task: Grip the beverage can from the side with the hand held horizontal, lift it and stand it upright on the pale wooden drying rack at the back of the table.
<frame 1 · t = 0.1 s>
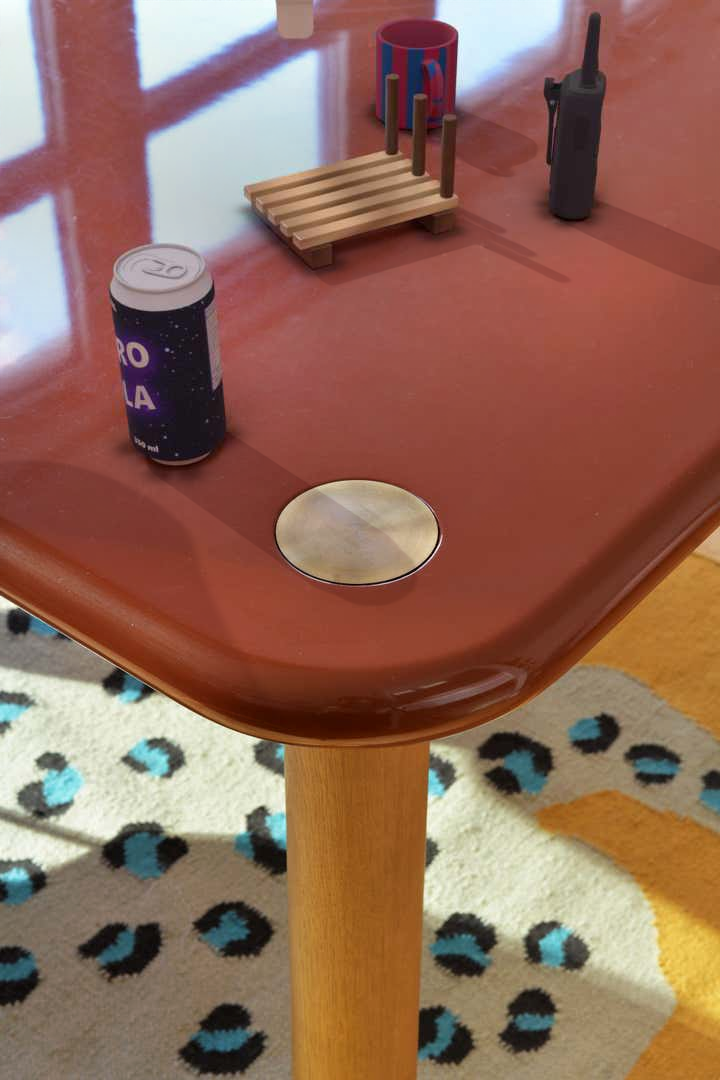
beverage can: (180, 446, 81), on the table
two-way radio: (562, 208, 103), on the table
mug: (417, 124, 114), on the table
drying rack: (350, 219, 101), on the table
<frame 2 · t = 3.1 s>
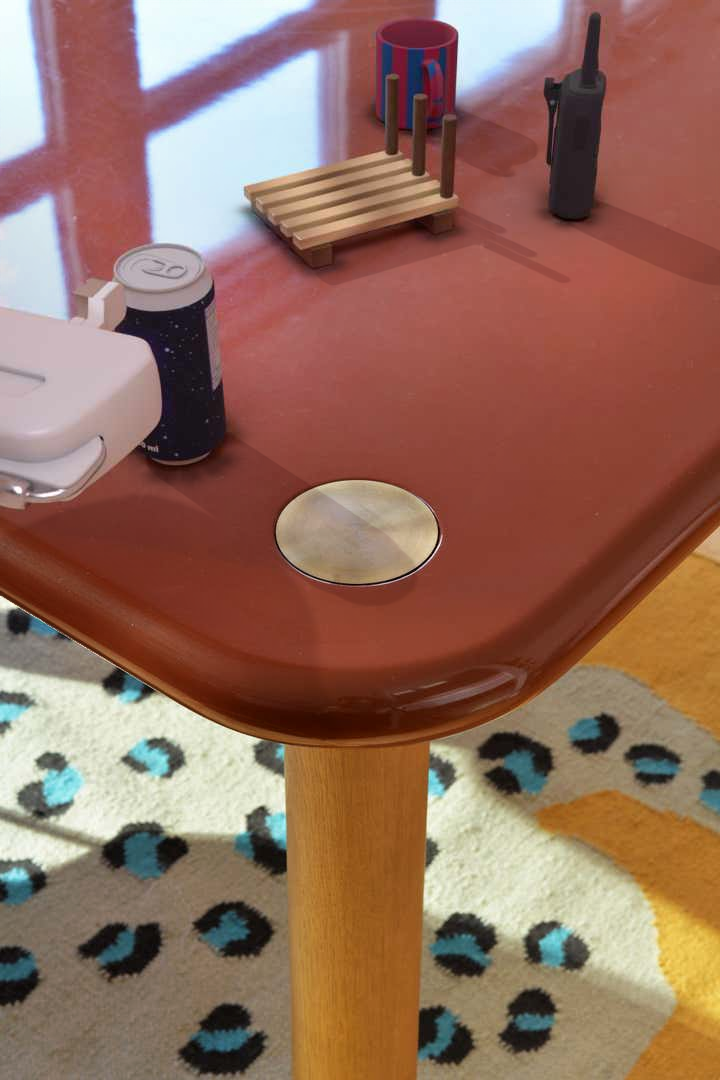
hand: (18, 273, 60), 18 cm above the table, tool horizontal, fingers open, 8 cm apart
nothing on the table moved.
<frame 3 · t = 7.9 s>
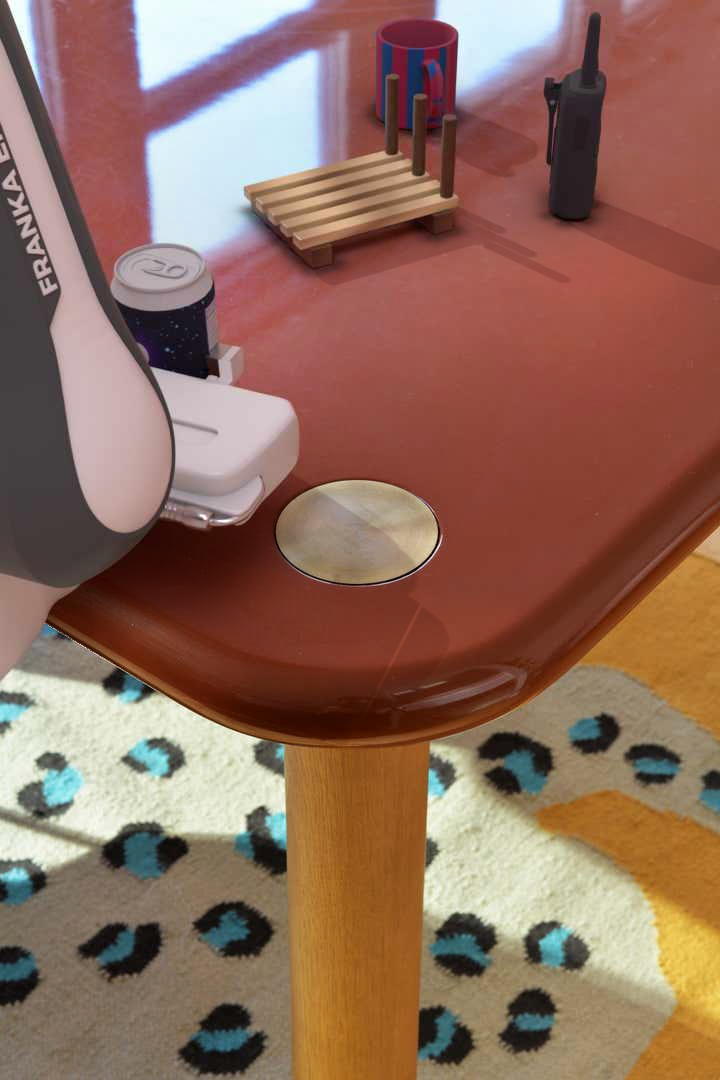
hand: (176, 341, 77), 7 cm above the table, tool horizontal, fingers closed on beverage can, 5 cm apart
beverage can: (180, 446, 81), on the table, touching gripper
everything else where it was.
when the fingers open (9 cm above the table, at t = 16.5 s): beverage can stays where it is, resting on drying rack.
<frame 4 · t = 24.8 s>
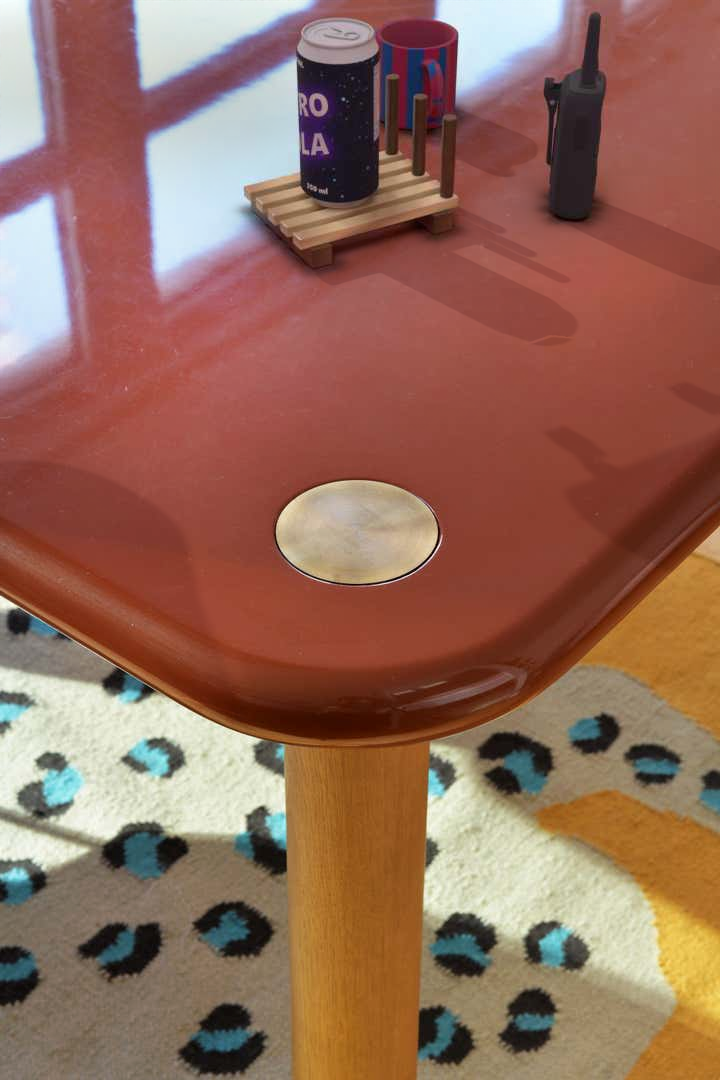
beverage can: (339, 197, 99), point 2 cm above the table, touching drying rack
everything else where it was.
at the end: beverage can inside the target area on the drying rack (0.8 cm from its centre), point 2.1 cm above the drying rack's base; beverage can tilted 0°; the gripper is holding nothing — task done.
